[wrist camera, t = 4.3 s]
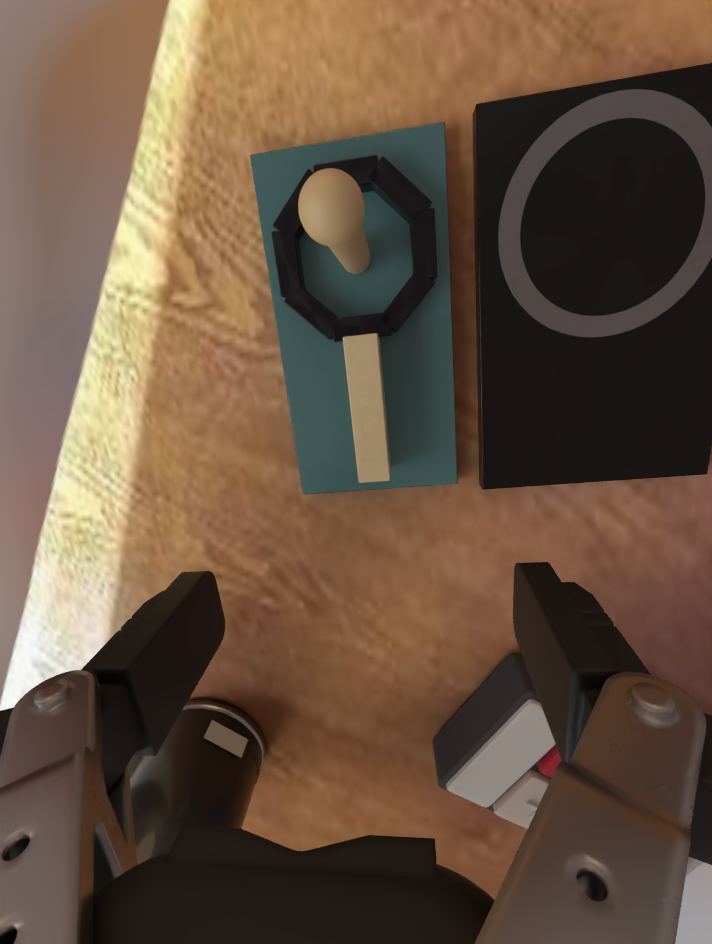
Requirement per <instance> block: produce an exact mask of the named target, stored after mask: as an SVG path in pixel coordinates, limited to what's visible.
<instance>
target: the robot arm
mask: <svg viewBox="0 0 712 944" xmlns="http://www.w3.org/2000/svg"><path fill="white" fill-rule="evenodd" d="M513 623H514V631H515V635H516V639H517V643H518V645H519V648H520V651H521V653H522V656H523V659H524V661H525V664H526V667H527V669H528V672H529V675H530V677H531V680H532V683H533V685H534V688H535V691H536V693H537V696H538V699H539V701H540V704H541V706H542V709H543V712H544V714H545V717H546V720H547V722H548V725H549V728H550V730H551V733H552V736H553V738H554V741H555V744H556V746H557V749H558V752H559V754H560V757H561V760H562V761H561V762H560V763H559V764H558V766H557V768H556V769H555V771H554V773H553V775H552V778H551V780H550V782H549V784H548V786H547V788H546V790H545V793H544V795H543V797H542V799H541V801H540V803H539V806H538V808H537V810H536V812H535V814H534V816H533V819H532V821H531V823H530V825H529V827H528V829H527V832H526V834H525V836H524V838H523V840H522V842H521V845H520V847H519V849H518V851H517V853H516V855H515V857H514V860H513V862H512V864H511V866H510V868H509V870H508V873H507V875H506V877H505V879H504V881H503V883H502V886H501V888H500V890H499V892H498V894H497V896H496V899H495V900H494V899H493V898H492V897H491V896H490V895H489V894H487V893H486V892H485V891H484V890H483V889H481V888H480V887H478V886H477V885H476V884H474V883H473V882H472V881H470V880H469V879H467V878H465V877H464V876H462V875H460V874H458V873H456V872H454V871H453V870H451V869H448V868H446V867H443V866H441V865H438V864H436V851H435V839H431V838H412V837H393V836H374V835H368V836H364V837H360V838H356V839H352V840H348V841H344V842H340V843H336V844H332V845H328V846H324V847H320V848H316V849H312V850H308V851H295V850H292V849H289V848H287V847H284V846H282V845H279V844H277V843H275V842H272V841H270V840H267V839H265V838H262V837H260V836H257V835H255V834H253V833H250V832H248V831H245V830H243V829H242V825H243V822H244V819H245V816H246V813H247V809H248V806H249V803H250V800H251V796H252V793H253V790H254V787H255V784H256V782H257V779H258V776H259V772H260V770H261V768H262V765H263V762H264V759H265V755H266V743H265V739H264V736H263V734H262V732H261V730H260V728H259V727H258V726H257V724H256V723H255V722H254V721H253V720H252V719H251V718H250V717H249V716H248V715H246V714H245V713H244V712H242V711H241V710H239V709H237V708H235V707H233V706H231V705H229V704H226V703H223V702H219V701H215V700H208V699H197V700H190V701H188V699H189V698H190V696H191V694H192V692H193V691H194V689H195V687H196V685H197V684H198V682H199V680H200V679H201V677H202V675H203V673H204V672H205V670H206V668H207V666H208V665H209V663H210V661H211V660H212V658H213V656H214V654H215V653H216V651H217V649H218V647H219V646H220V644H221V642H222V639H223V636H224V631H225V618H224V613H223V609H222V605H221V600H220V596H219V592H218V587H217V583H216V579H215V576H214V574H213V573H212V572H210V571H200V572H182V573H181V574H180V575H179V576H178V577H177V578H176V579H175V580H174V581H173V582H172V583H171V585H170V586H169V587H168V588H167V589H166V590H165V591H162V592H160V593H159V594H157V595H156V596H154V597H153V598H151V599H150V600H148V601H147V602H145V603H144V604H143V605H142V606H141V607H140V608H139V609H138V610H137V611H136V612H135V614H134V615H133V616H132V619H129V620H128V621H127V622H126V623H125V624H124V625H123V626H122V627H121V631H118V632H117V633H116V634H115V635H114V636H113V637H112V638H111V639H110V640H109V641H108V642H107V643H106V644H105V645H104V646H103V647H102V648H101V650H100V651H99V652H98V653H97V654H96V655H95V656H94V657H93V658H92V659H91V660H90V661H89V662H88V663H87V664H86V665H85V666H84V668H83V669H82V670H75V671H69V672H65V673H62V674H59V675H56V676H54V677H52V678H50V679H48V680H46V681H44V682H42V683H40V684H39V685H37V686H36V687H34V688H33V689H32V690H30V691H29V692H28V693H27V694H25V695H24V696H23V697H22V698H21V699H20V700H19V701H18V703H17V704H16V705H15V707H14V708H11V709H6V710H2V711H0V944H675V941H676V934H677V928H678V921H679V915H680V908H681V902H682V895H683V889H684V882H685V876H686V869H687V863H688V856H689V857H692V858H694V859H697V860H700V861H703V862H705V863H708V864H711V865H712V716H711V715H708V714H706V713H703V712H702V710H701V708H700V707H699V706H698V704H697V703H696V702H695V701H694V700H693V699H692V698H691V697H690V696H689V695H688V694H686V693H685V692H684V691H682V690H681V689H680V688H678V687H677V686H675V685H673V684H671V683H669V682H667V681H665V680H663V679H661V678H658V677H655V676H652V675H651V674H650V673H649V671H648V670H647V669H646V667H645V666H644V665H643V663H642V662H641V661H640V659H639V658H638V656H637V655H636V654H635V652H634V651H633V650H632V648H631V647H630V645H629V644H628V643H627V641H626V640H625V639H624V637H623V636H622V634H621V633H620V632H619V630H618V629H617V628H616V627H614V625H613V622H612V621H611V619H610V618H609V617H608V615H607V614H606V613H604V610H603V608H602V607H601V606H600V604H599V603H598V602H597V600H596V599H595V597H594V596H593V595H592V594H591V593H589V592H588V591H586V590H585V589H583V588H582V587H580V586H579V585H577V584H576V583H575V582H561V581H560V579H559V577H558V576H557V574H556V573H555V571H554V570H553V568H552V567H551V565H550V564H549V563H548V562H536V563H516V565H515V569H514V597H513Z"/></svg>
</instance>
